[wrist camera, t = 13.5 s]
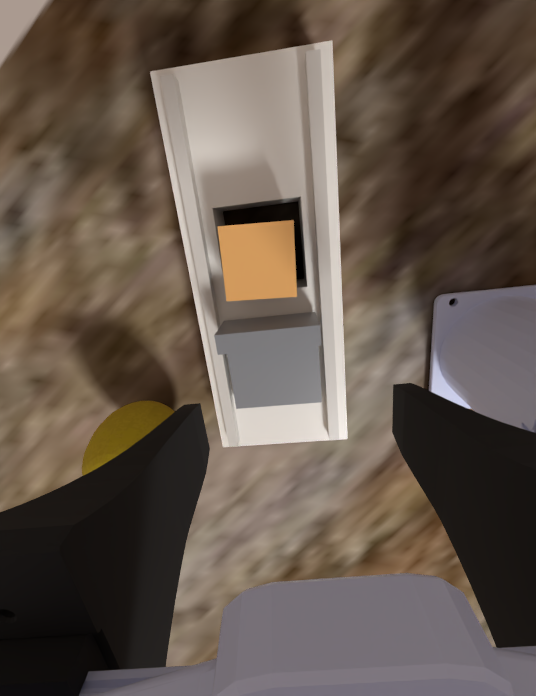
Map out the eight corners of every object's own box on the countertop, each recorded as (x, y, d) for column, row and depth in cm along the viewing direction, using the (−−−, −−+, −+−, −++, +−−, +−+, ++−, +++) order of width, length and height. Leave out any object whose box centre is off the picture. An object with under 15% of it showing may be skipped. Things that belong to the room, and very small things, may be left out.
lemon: (164, 457, 25) (113, 554, 18) (110, 410, 24) (30, 492, 16) (214, 419, 24) (182, 506, 16) (159, 366, 23) (97, 434, 15)
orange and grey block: (293, 277, 20) (297, 296, 14) (242, 281, 20) (226, 301, 15) (290, 222, 19) (293, 220, 13) (237, 227, 19) (217, 226, 14)
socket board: (171, 97, 17) (143, 64, 14) (324, 73, 16) (334, 30, 13) (230, 421, 24) (220, 454, 20) (339, 413, 23) (349, 445, 20)
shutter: (223, 320, 18) (214, 335, 15) (315, 311, 17) (320, 325, 15) (237, 403, 19) (230, 428, 17) (320, 397, 19) (326, 421, 17)
